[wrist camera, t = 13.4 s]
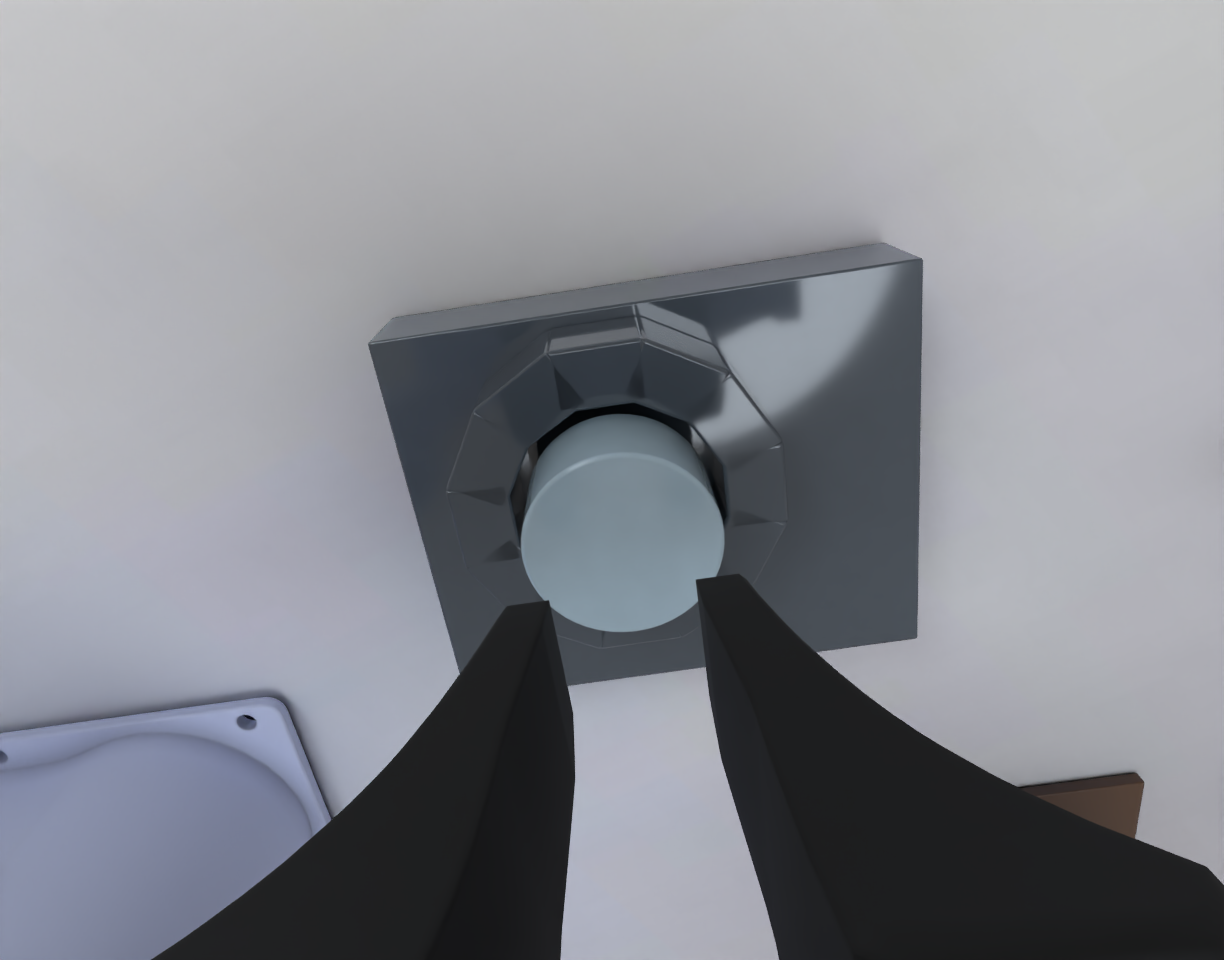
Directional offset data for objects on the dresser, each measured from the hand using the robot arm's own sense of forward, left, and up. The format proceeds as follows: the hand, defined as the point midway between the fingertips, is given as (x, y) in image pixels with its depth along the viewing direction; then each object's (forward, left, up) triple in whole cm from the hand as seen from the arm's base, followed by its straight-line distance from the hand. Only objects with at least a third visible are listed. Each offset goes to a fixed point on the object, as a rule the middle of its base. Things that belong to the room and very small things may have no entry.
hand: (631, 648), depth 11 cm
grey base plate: (+1, -1, -8) cm, 9 cm away
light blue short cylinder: (0, 0, -5) cm, 5 cm away
